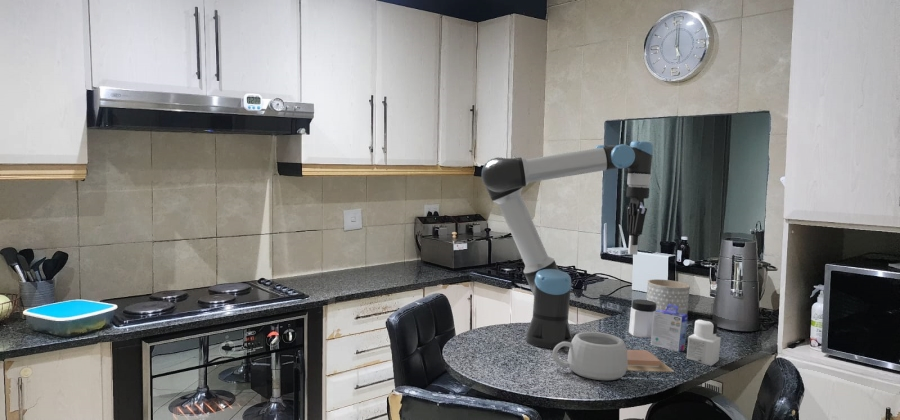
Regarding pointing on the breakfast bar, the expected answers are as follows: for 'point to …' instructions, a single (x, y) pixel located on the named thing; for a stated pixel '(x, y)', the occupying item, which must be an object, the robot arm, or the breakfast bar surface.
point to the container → (704, 342)
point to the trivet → (661, 367)
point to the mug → (595, 356)
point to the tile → (641, 358)
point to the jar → (642, 318)
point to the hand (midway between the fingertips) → (632, 254)
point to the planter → (668, 294)
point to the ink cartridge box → (669, 329)
